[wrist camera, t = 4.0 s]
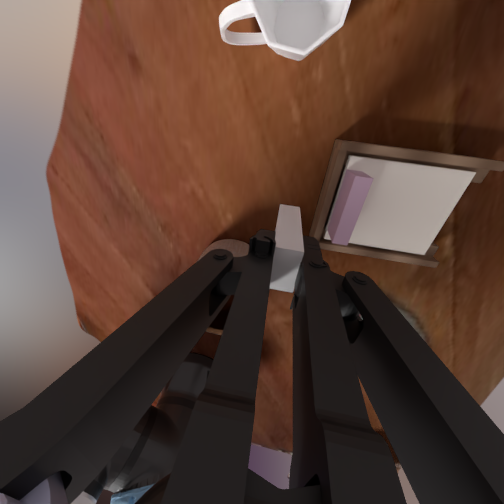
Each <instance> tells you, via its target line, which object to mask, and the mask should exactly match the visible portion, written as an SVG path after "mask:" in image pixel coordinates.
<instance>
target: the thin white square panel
mask: <svg viewBox="0 0 504 504" xmlns="http://www.w3.org/2000/svg"><path fill="white" fill-rule="evenodd" d="M475 174H476V172H472V171H467V170H460V169H452V168H445V167H437V166H430V165H422V164H415V163H407V162H400V161H392V160H384V159H377V158H369V157H362V156H354V155H349V156H348V159H347V162H346V166H345V169H344V172H343V175H342V178H341V181H340V184H339V188H338V191H337V194H336V197H335V200H334V203H333V207H332V210H331V213H330V216H329V219H328V222H327V225H326V229H325V232H324V235H323V237H324V239H328V240H331V241H332V243H335V244H341V245H348V243H352V244H358V245H365V246H371V247H377V248H383V249H389V250H395V251H402V252H408V253H414V254H420V255H425V253H426V251H427V250H428V248H429V247H430V245H431V244H432V242H433V240H434V239H435V237H436V236H437V234H438V232H439V231H440V229H441V228H442V226H443V225H444V223H445V221H446V220H447V218H448V217H449V215H450V213H451V212H452V210H453V209H454V207H455V206H456V204H457V202H458V201H459V199H460V198H461V196H462V194H463V193H464V191H465V190H466V188H467V187H468V185H469V183H470V182H471V180H472V179H473V177H474V176H475Z"/></svg>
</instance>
